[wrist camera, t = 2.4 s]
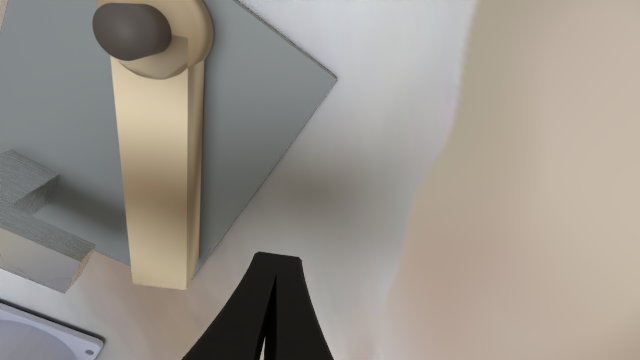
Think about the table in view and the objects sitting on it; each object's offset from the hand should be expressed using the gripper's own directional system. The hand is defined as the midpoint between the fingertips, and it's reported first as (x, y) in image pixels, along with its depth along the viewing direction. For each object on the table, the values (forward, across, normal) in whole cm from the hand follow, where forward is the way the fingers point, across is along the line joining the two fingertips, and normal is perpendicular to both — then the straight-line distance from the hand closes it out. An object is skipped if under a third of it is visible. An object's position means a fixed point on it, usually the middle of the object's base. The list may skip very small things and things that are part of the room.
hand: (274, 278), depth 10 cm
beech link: (+5, +5, -1) cm, 8 cm away
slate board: (+7, +7, -1) cm, 10 cm away
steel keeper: (+6, +10, +2) cm, 12 cm away
